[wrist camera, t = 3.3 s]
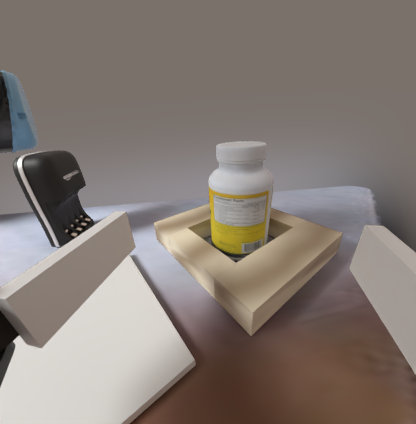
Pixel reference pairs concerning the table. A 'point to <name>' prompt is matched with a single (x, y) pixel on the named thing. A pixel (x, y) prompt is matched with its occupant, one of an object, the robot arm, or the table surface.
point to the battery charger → (54, 193)
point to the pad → (98, 360)
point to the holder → (250, 262)
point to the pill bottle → (240, 199)
